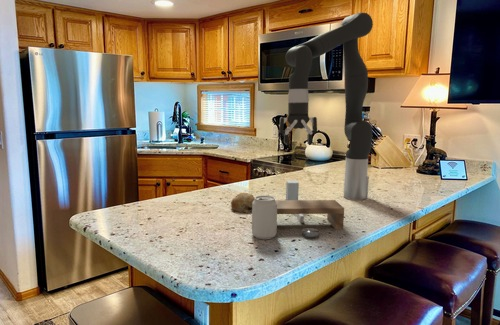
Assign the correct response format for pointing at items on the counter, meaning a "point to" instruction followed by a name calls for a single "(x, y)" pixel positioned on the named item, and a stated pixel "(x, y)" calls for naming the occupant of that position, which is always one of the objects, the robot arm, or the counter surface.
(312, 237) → the disc
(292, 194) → the mallet tool
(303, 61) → the robot arm
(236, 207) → the bread roll
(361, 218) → the counter surface
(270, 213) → the can
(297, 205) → the riser
